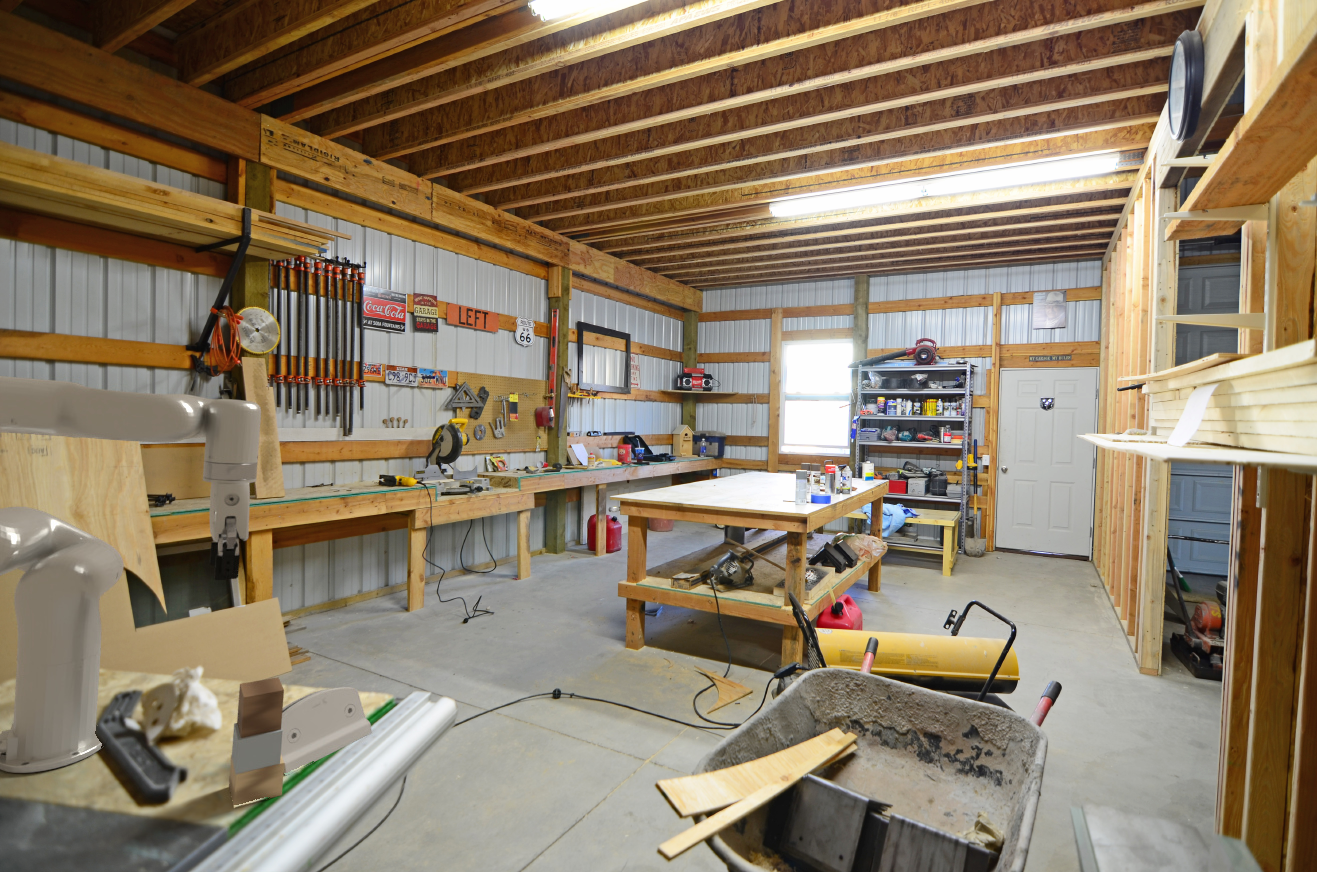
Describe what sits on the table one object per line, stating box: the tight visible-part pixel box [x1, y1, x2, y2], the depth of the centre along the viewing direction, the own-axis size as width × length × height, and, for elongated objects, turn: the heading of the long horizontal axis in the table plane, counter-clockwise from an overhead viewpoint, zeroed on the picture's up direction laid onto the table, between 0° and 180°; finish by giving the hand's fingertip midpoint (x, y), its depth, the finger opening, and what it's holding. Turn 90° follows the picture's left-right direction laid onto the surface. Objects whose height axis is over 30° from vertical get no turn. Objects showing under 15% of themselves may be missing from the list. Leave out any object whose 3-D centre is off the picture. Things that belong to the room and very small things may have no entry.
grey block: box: [231, 722, 283, 774], centre depth 93 cm, size 6×6×5 cm
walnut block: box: [236, 677, 285, 738], centre depth 93 cm, size 5×5×6 cm
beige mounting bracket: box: [281, 686, 373, 774], centre depth 106 cm, size 17×5×10 cm, turn 155°
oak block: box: [228, 754, 284, 806], centre depth 93 cm, size 6×6×5 cm
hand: (223, 571), depth 106 cm, fingers open, 9 cm apart
